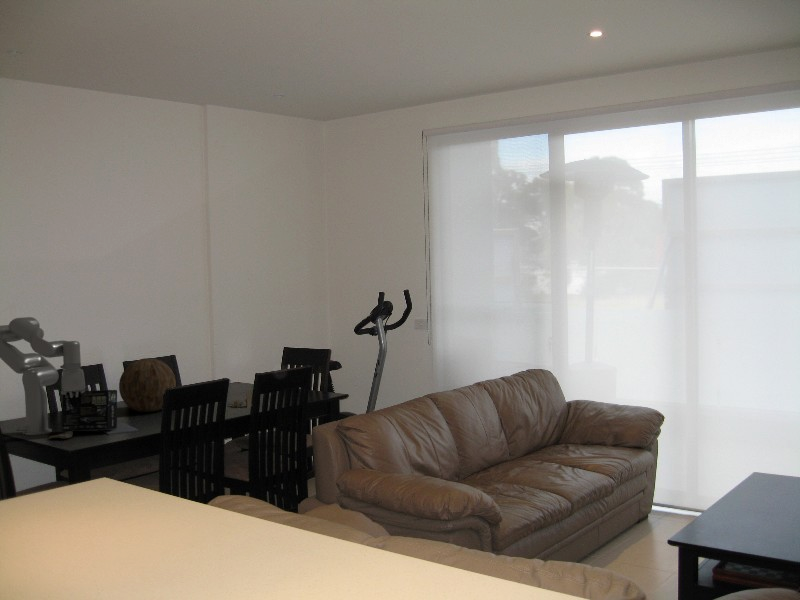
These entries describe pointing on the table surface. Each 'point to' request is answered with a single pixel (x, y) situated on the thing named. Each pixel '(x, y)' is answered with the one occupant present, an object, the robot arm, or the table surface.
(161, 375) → the decorative sphere
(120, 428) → the mat
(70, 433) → the ceramic fragment
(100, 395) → the box
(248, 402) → the dollhouse furniture set
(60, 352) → the robot arm
